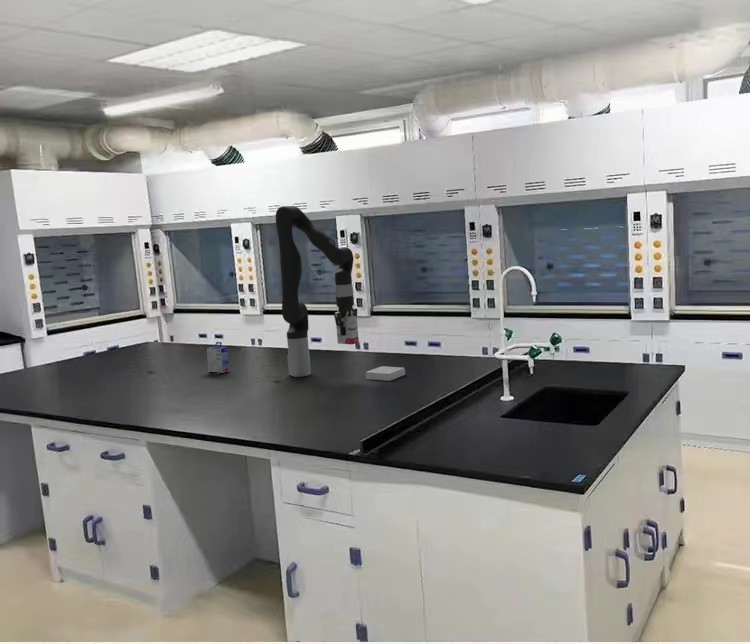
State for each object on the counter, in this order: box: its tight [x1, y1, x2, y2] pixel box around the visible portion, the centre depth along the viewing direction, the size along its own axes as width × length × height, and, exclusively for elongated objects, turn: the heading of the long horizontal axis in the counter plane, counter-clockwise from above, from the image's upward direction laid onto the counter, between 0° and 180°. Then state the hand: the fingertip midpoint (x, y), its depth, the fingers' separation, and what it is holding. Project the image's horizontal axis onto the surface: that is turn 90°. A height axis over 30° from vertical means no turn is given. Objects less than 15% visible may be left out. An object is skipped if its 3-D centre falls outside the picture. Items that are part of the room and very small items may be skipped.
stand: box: [365, 365, 406, 382], centre depth 313 cm, size 12×12×3 cm
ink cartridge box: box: [206, 341, 231, 372], centre depth 350 cm, size 10×6×14 cm, turn 58°
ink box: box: [335, 315, 360, 345], centre depth 314 cm, size 9×5×12 cm, turn 50°
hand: (347, 334), depth 314 cm, fingers closed on ink box, 5 cm apart
